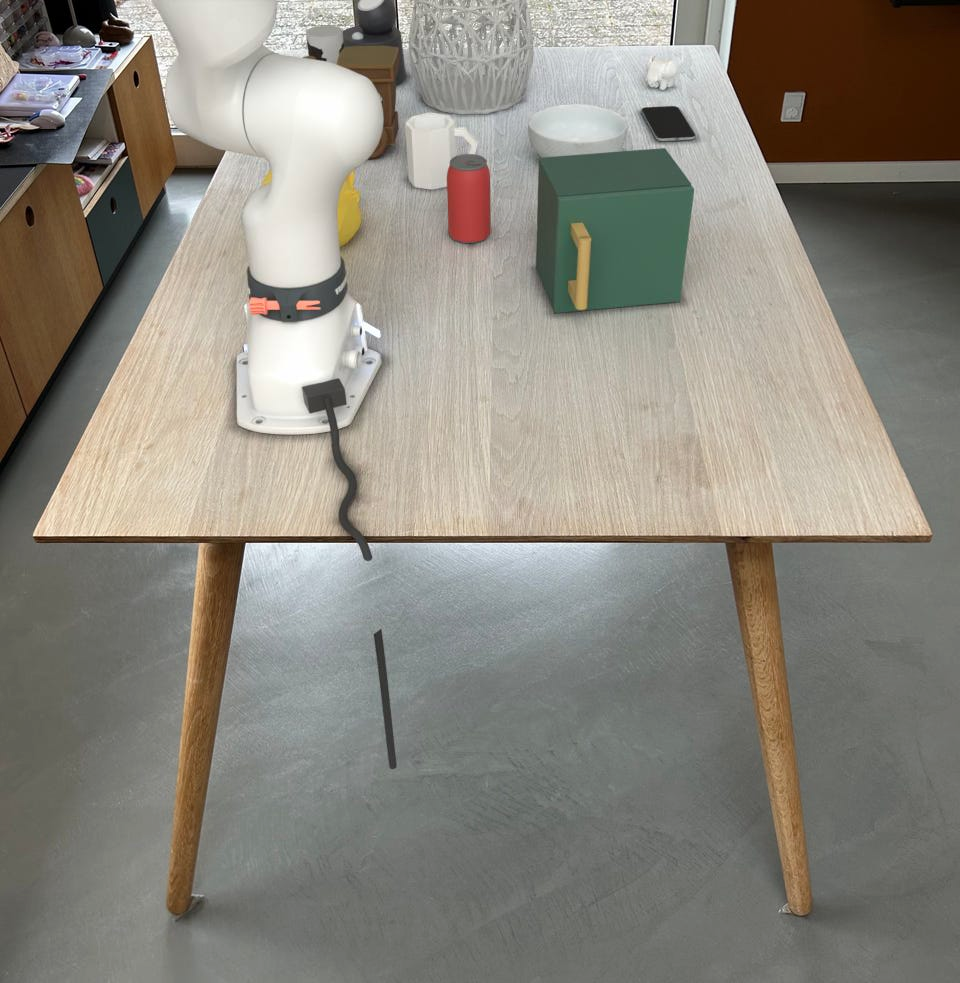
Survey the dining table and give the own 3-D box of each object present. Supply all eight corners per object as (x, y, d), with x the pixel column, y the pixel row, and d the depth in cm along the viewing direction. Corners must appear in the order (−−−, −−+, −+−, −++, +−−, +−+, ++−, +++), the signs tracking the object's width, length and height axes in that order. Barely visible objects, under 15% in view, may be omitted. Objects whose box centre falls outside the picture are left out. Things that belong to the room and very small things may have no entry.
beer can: (486, 246, 160) (485, 171, 152) (444, 243, 161) (441, 168, 153) (494, 227, 165) (494, 153, 157) (453, 224, 166) (451, 150, 158)
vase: (476, 66, 222) (473, -93, 202) (557, 96, 208) (563, -72, 188) (386, 95, 209) (375, -71, 190) (467, 129, 196) (463, -47, 176)
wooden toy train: (405, 136, 193) (400, 43, 182) (399, 162, 185) (393, 65, 174) (298, 136, 194) (286, 43, 183) (287, 161, 185) (274, 65, 175)
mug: (408, 190, 176) (405, 133, 169) (408, 169, 182) (405, 113, 176) (479, 188, 176) (478, 130, 170) (477, 167, 182) (476, 111, 176)
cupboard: (677, 298, 148) (691, 183, 137) (552, 309, 146) (557, 194, 135) (653, 257, 157) (665, 147, 146) (535, 268, 155) (538, 157, 144)
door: (691, 321, 143) (707, 206, 132) (562, 333, 141) (568, 218, 130) (677, 298, 147) (692, 185, 137) (553, 309, 145) (557, 196, 135)
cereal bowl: (514, 173, 180) (515, 133, 176) (543, 137, 192) (544, 99, 188) (610, 187, 176) (613, 146, 171) (634, 149, 188) (637, 110, 183)
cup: (348, 104, 206) (341, 24, 196) (351, 116, 201) (343, 35, 191) (314, 106, 205) (305, 26, 195) (315, 119, 200) (306, 37, 190)
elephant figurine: (634, 88, 211) (637, 58, 207) (660, 78, 215) (663, 48, 211) (660, 97, 207) (663, 66, 203) (686, 86, 211) (689, 56, 207)
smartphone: (657, 138, 189) (640, 107, 201) (656, 142, 190) (640, 110, 201) (696, 136, 190) (677, 105, 201) (696, 140, 190) (677, 109, 201)
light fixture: (316, -2, 206) (370, -17, 214) (324, 80, 216) (376, 63, 224) (361, 11, 199) (415, -5, 207) (367, 96, 209) (419, 77, 217)
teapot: (235, 236, 164) (221, 158, 155) (326, 197, 174) (318, 121, 166) (318, 278, 153) (308, 196, 145) (410, 234, 163) (405, 155, 155)
